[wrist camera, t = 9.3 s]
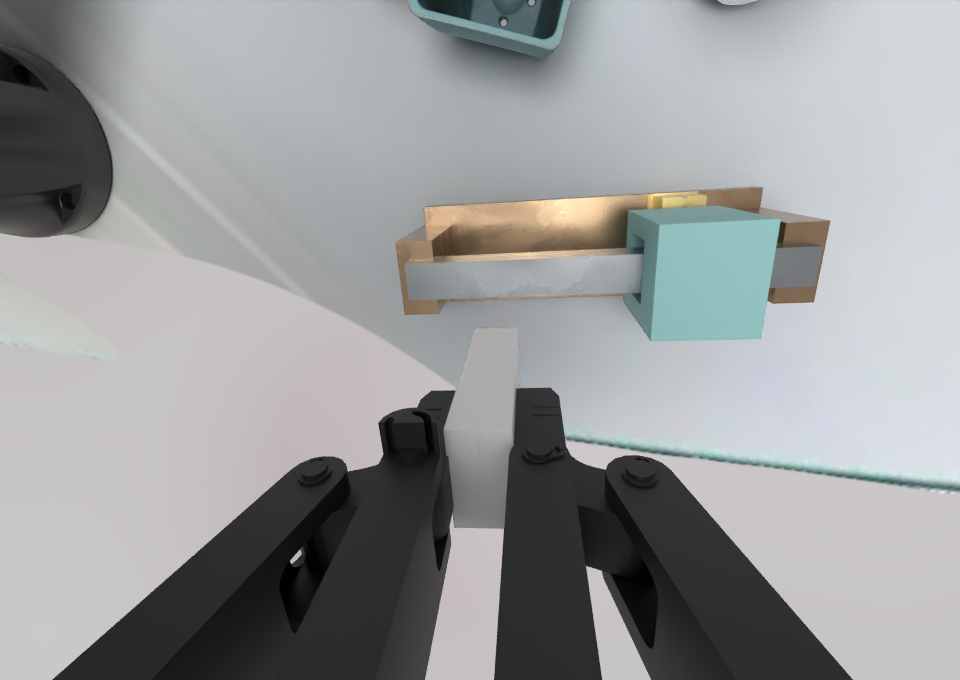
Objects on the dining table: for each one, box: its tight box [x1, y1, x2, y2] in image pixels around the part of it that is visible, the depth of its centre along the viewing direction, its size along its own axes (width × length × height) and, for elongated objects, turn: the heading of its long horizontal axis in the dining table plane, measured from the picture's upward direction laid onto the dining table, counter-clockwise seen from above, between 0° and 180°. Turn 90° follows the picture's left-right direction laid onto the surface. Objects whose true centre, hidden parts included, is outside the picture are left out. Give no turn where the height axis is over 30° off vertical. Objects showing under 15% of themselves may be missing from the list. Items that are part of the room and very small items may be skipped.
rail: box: [396, 187, 830, 315], centre depth 33 cm, size 26×8×10 cm, turn 94°
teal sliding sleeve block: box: [624, 206, 781, 341], centre depth 29 cm, size 6×7×8 cm
